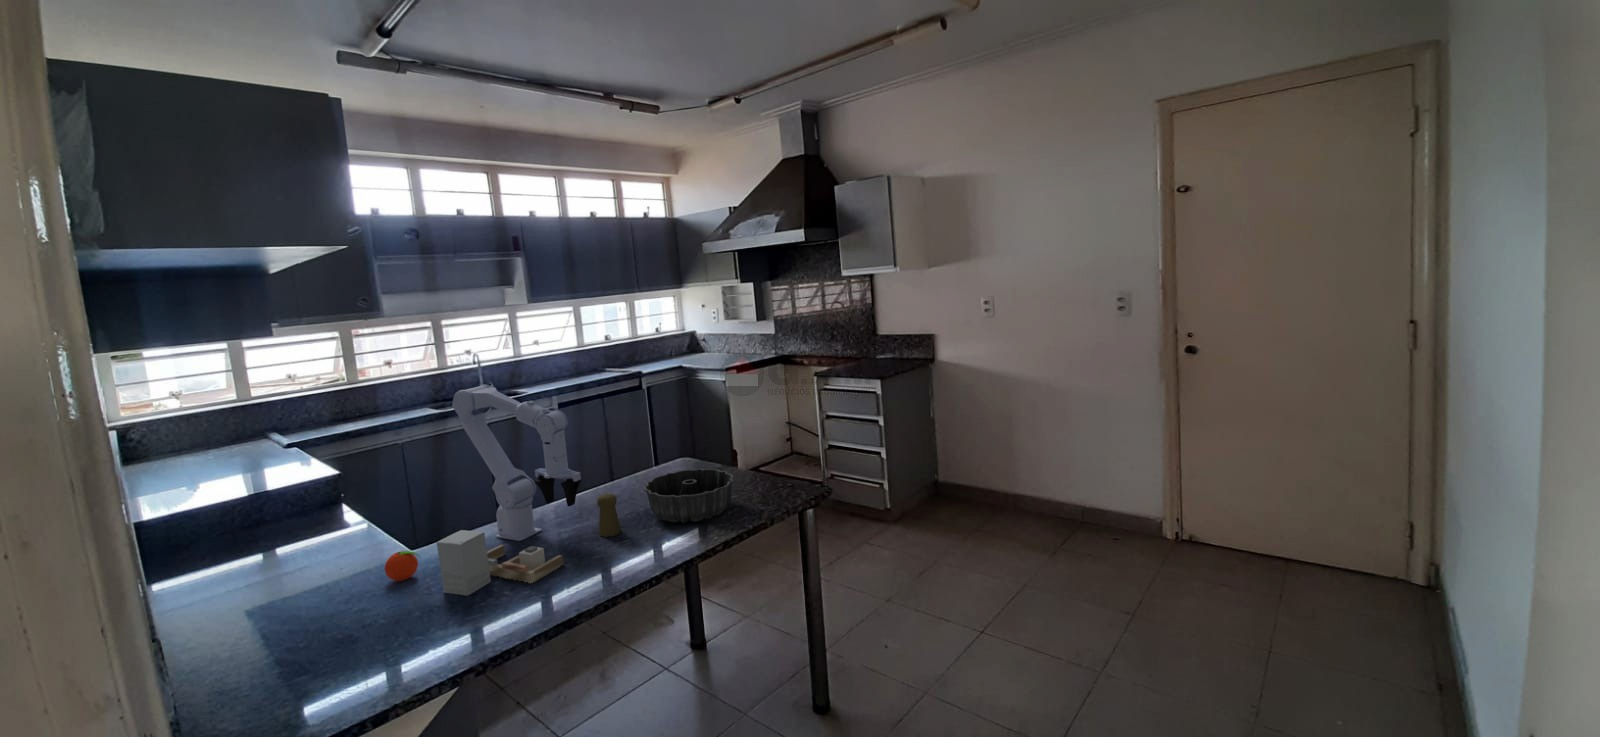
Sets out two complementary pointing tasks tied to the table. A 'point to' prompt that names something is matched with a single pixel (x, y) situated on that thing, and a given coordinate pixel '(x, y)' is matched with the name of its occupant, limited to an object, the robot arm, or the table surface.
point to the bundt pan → (690, 494)
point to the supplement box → (463, 562)
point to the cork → (608, 516)
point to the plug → (532, 557)
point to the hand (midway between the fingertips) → (560, 503)
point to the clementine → (401, 565)
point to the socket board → (519, 566)
